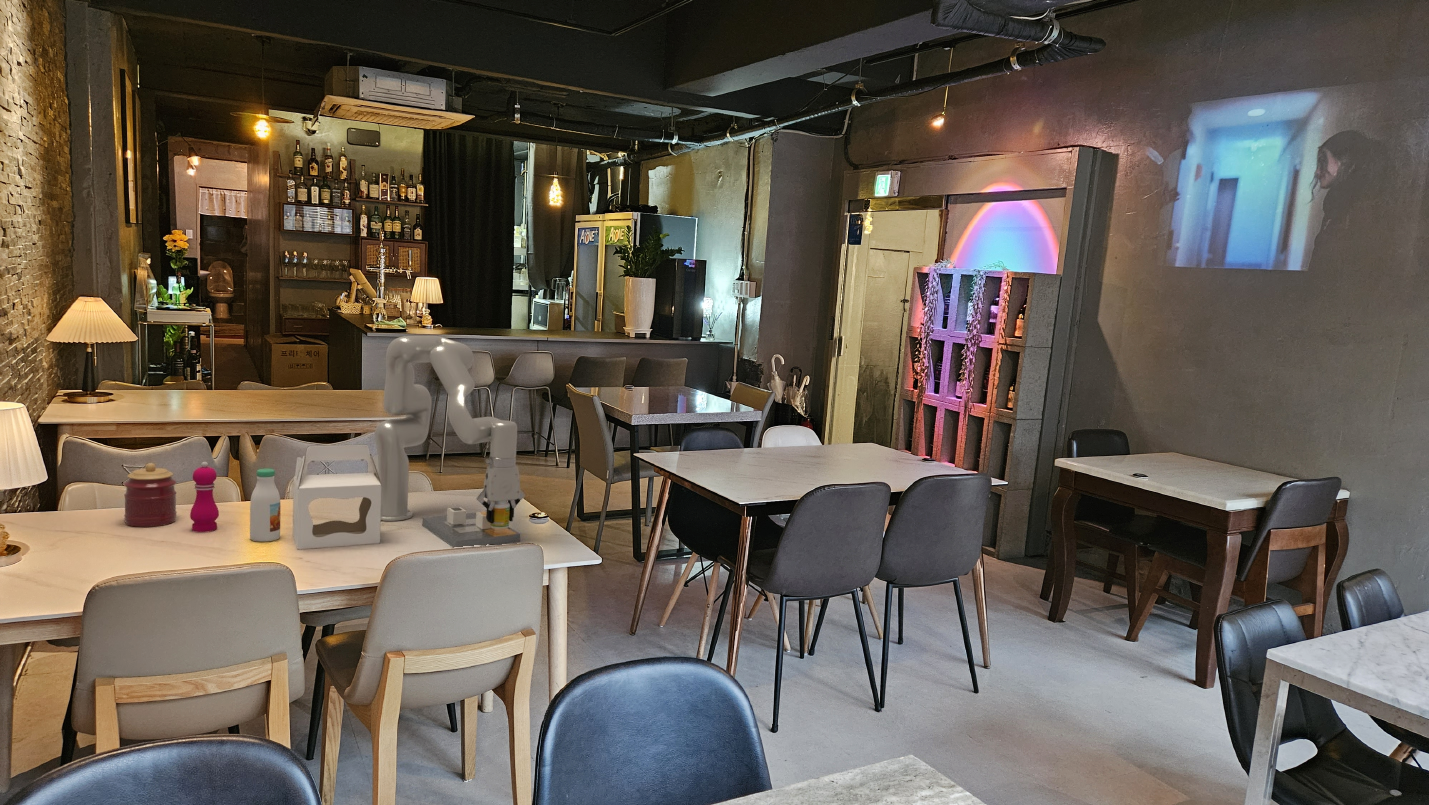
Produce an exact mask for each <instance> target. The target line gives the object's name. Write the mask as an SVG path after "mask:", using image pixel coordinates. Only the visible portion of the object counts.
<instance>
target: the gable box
mask: <svg viewBox="0 0 1429 805" xmlns="http://www.w3.org/2000/svg"><path fill="white" fill-rule="evenodd" d="M337 461H341V462H342V461H365V462H366V463H367V464H366V467H367V469H366V470H367V472H354V473H353V472H351V473H349V472H348V473H328V474H326V473H324V474H322V473H321V474H308V465H309V464H310V463H315V462H337ZM295 462H296V463H295V471H294V472H295V473H294V476H293V482H292V483H293V490H292V492H293V494H292V495H293V497H292V498H293V499H292V538H293V542H294V544H295V547H296V549H297V550H308V549H309V550H310V549H321V548H324V549H325V548H336V547H337V548H338V547H351V546H359V545H360V546H361V545H362V546H363V545H376V544H381V522H382V520H381V488H382V484H381V481H380V478H379V475H378V473H379V468H378V455H377V454H373V455H372V453H370V447H369V445H368V444H364V443H362V444H361V443H360V444H324V445H323V444H319V445H316V444H315V445H313V444H312V445H308V446H307V448H306V452H305V455H303V457H301V456H297V457H296V461H295ZM355 498H362V500H361V502H360V504H359V507H358V513H359V518H358V520H357V521H355V522H354V521H353V522H349V521H343V520H329V521H325V522H321V523H317V524H314V521H313V519H312V518H313V517H312V516H311V513H310V507H309V506H310V504H311V503H312V502H313V501H316V500H319V499H335V500H336V499H338V500H350V499H355Z"/></svg>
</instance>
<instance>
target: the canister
mask: <svg viewBox="0 0 1429 805" xmlns="http://www.w3.org/2000/svg"><path fill="white" fill-rule="evenodd" d="M173 476H174V473H173V472H172V471H169V470H168V469H166V468H164V467H163V468H162V467H160V468H159V467H157V466H156V464H155V463H152V462H148V463H147V464H145V467H144V468H140V469H139V468H138V469H135V470H133V471H132V472H130V473H129V474H127V478H128V480H126V481H125V482H124V483H123V485H124V487H125V488H126V489H125V493H124V496H123V497H124V515H123V516H124V518H123V519H124V521H125V524H126V525H127V526H131V527H139V528H143V527H144V528H147V527H148V528H149V527H150V528H151V527H159V526H165V525H166V526H167V525H168V524H172V523H174V522H175V521H176V518H177V498H176V497H177V491H176V490H175V489H176V488H175V485H176V484H177V480H176V479H174V478H173Z"/></svg>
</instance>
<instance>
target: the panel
mask: <svg viewBox="0 0 1429 805" xmlns="http://www.w3.org/2000/svg"><path fill="white" fill-rule="evenodd" d="M421 520H422V521H421V522H422V523H421V525H422V527H424V528H425V529H427V530H428V531H429V532H431V533H432V534H433V535H435V536H436V537H437V538H439V539H440V540H442V541H443V542H444V543H445V544H448V545H449V546H450V547H451V548H453V547H463V546H474V545H487V544H497V545H501V544H500V543H505V544H511V543H510V542H513V543H520V542H521V533H520V532H519V531H517V530H515V529H514V528H511V527H510V526H509V527H508V528H505V529H494V528H489V529H481V528H480V527H478V526H476V512H469V513H467V512H466V523H465V524H455V525H453V524H451V523H450V522H448V521H447V514H446V515H439V516H427V517H422V519H421Z"/></svg>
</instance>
